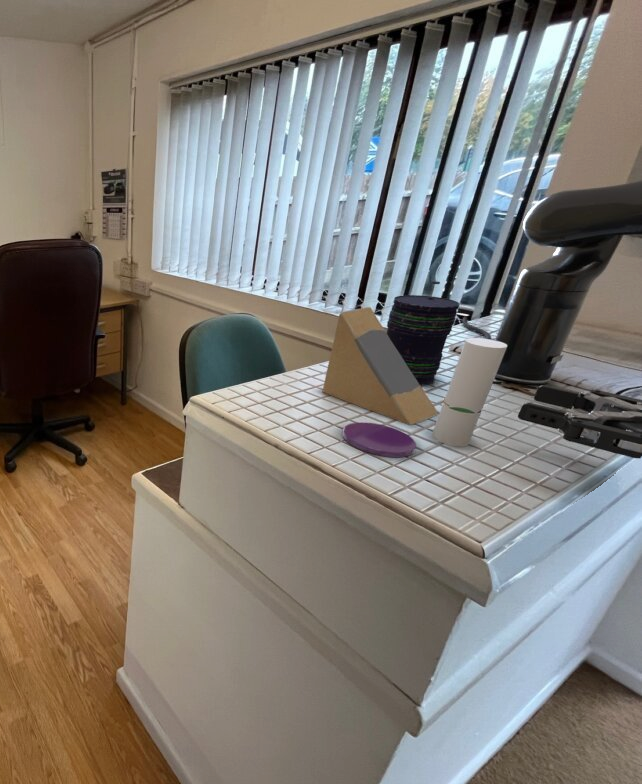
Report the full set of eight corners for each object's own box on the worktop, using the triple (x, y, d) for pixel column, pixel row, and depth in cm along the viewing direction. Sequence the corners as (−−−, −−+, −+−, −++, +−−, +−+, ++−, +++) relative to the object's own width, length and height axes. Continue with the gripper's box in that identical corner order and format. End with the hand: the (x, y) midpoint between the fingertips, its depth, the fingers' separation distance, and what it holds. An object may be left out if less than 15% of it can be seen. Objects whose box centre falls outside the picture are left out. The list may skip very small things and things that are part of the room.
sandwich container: (411, 426, 72) (441, 334, 66) (320, 392, 84) (339, 312, 78) (441, 413, 75) (472, 325, 69) (350, 382, 88) (369, 305, 82)
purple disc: (344, 421, 74) (345, 417, 73) (413, 435, 69) (414, 431, 69) (340, 446, 67) (341, 441, 67) (416, 464, 62) (418, 459, 62)
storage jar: (425, 390, 84) (457, 292, 77) (365, 375, 91) (390, 284, 84) (441, 376, 90) (473, 283, 82) (384, 363, 97) (408, 277, 89)
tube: (424, 433, 70) (457, 338, 64) (450, 431, 70) (485, 337, 64) (448, 447, 66) (486, 348, 60) (476, 445, 66) (516, 346, 60)
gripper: (756, 400, 51) (551, 361, 62) (762, 441, 43) (527, 388, 55) (718, 458, 54) (529, 410, 65) (716, 506, 46) (503, 443, 58)
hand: (528, 400), depth 60 cm, fingers open, 8 cm apart
